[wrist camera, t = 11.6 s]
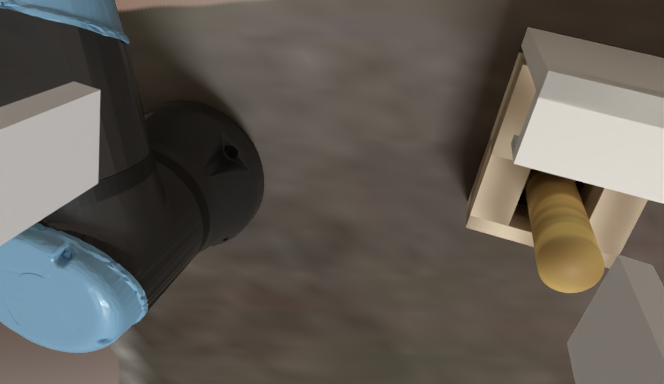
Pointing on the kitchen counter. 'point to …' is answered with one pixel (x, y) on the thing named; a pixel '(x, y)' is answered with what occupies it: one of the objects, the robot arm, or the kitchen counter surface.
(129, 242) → the robot arm
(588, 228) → the peg
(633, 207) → the socket block
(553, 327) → the kitchen counter surface
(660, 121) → the awning
